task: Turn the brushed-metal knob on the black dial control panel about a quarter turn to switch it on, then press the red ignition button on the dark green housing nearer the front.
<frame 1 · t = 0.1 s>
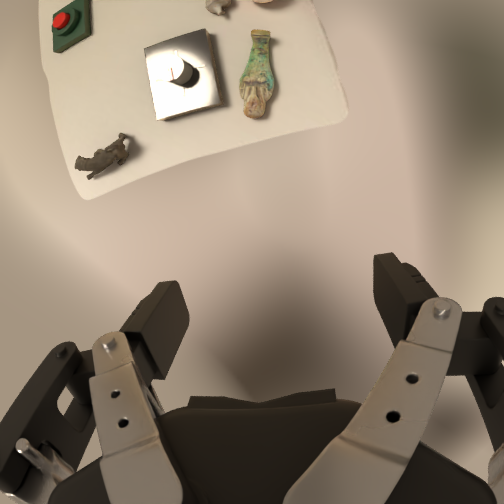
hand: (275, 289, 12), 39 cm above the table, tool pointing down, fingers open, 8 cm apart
figurine: (258, 75, 42), on the table
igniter: (73, 24, 37), on the table
grey animal-shaped piece: (110, 154, 49), on the table
black dial control panel: (185, 75, 42), on the table
hob knob: (174, 70, 37), point 5 cm above the table, hinge at 0.0°
ignite button: (61, 20, 33), point 4 cm above the table, slide at 0.1 cm
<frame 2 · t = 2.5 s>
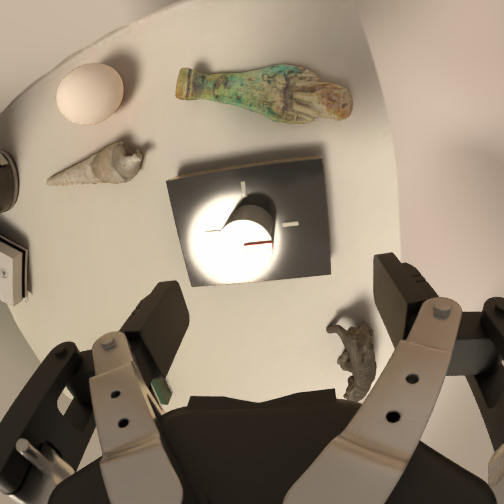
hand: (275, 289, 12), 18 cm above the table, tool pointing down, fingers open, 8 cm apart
figurine: (266, 94, 24), on the table
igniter: (133, 374, 41), on the table
seashell: (95, 172, 29), on the table
grey animal-shaped piece: (351, 346, 35), on the table
egg: (111, 95, 25), on the table
black dial control panel: (253, 218, 29), on the table
hob knob: (247, 237, 24), point 5 cm above the table, hinge at 0.0°
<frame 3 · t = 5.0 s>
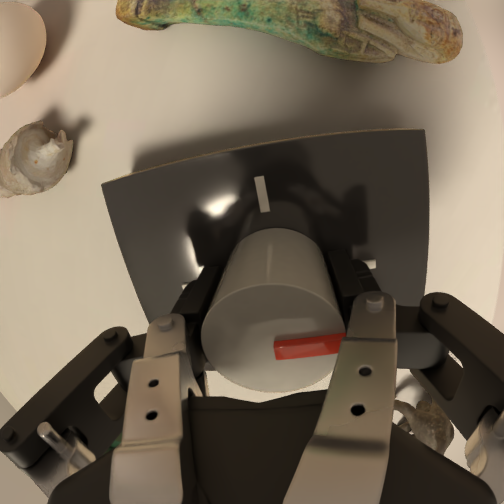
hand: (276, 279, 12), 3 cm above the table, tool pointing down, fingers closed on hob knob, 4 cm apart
figurine: (294, 14, 10), on the table
seashell: (17, 178, 15), on the table
grey animal-shaped piece: (411, 414, 21), on the table
egg: (36, 55, 12), on the table
black dial control panel: (278, 249, 15), on the table
hob knob: (275, 308, 10), point 5 cm above the table, hinge at -0.1°, touching gripper
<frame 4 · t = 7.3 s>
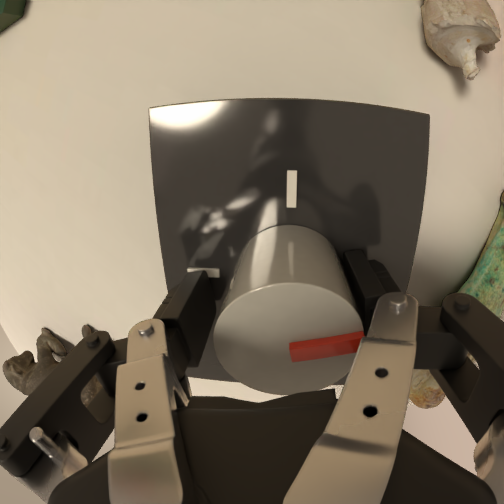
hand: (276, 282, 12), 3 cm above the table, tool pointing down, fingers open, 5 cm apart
figurine: (465, 294, 15), on the table
grey animal-shaped piece: (70, 347, 21), on the table
black dial control panel: (288, 246, 15), on the table
hob knob: (289, 308, 10), point 5 cm above the table, hinge at 102.3°
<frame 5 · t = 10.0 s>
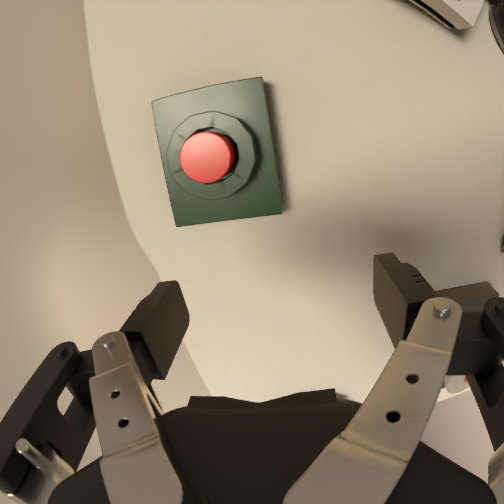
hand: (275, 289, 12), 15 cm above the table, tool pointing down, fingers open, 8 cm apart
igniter: (220, 151, 24), on the table
black dial control panel: (440, 336, 29), on the table
hob knob: (457, 366, 24), point 5 cm above the table, hinge at 102.3°
ignite button: (207, 156, 20), point 4 cm above the table, slide at 0.1 cm
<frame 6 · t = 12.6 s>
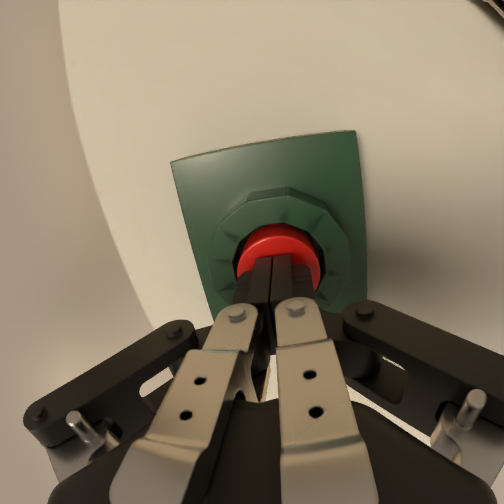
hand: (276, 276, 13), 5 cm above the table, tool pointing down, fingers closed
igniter: (280, 236, 17), on the table
ignite button: (279, 266, 13), point 4 cm above the table, slide at -0.5 cm, touching gripper
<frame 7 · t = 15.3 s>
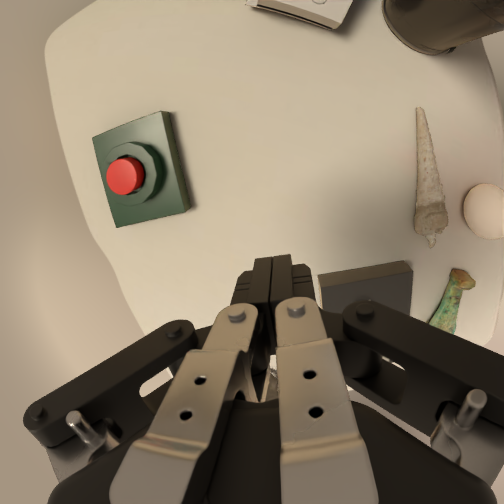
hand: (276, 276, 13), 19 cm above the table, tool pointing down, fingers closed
figurine: (438, 314, 35), on the table
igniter: (143, 169, 31), on the table
seashell: (419, 175, 28), on the table
grey animal-shaped piece: (244, 382, 42), on the table
egg: (471, 202, 28), on the table
black dial control panel: (363, 315, 35), on the table
hob knob: (373, 341, 30), point 5 cm above the table, hinge at 102.3°
ignite button: (125, 175, 26), point 4 cm above the table, slide at 0.1 cm
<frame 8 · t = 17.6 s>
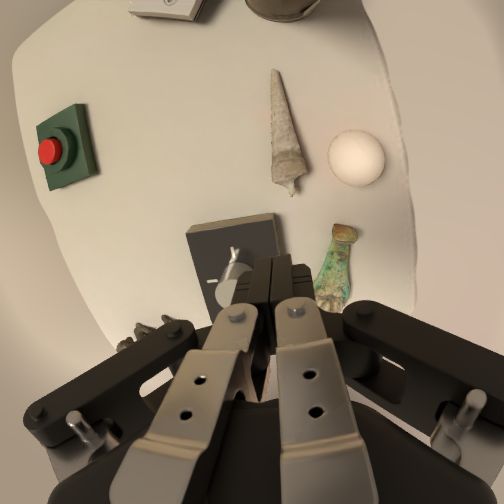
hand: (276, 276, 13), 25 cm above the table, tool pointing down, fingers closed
figurine: (330, 274, 40), on the table
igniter: (68, 147, 36), on the table
seashell: (279, 131, 33), on the table
grey animal-shaped piece: (152, 330, 47), on the table
egg: (348, 154, 33), on the table
black dial control panel: (241, 267, 41), on the table
hob knob: (236, 287, 36), point 5 cm above the table, hinge at 102.3°
ignite button: (50, 151, 32), point 4 cm above the table, slide at 0.1 cm
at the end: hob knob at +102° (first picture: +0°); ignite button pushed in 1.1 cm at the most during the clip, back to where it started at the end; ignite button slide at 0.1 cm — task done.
